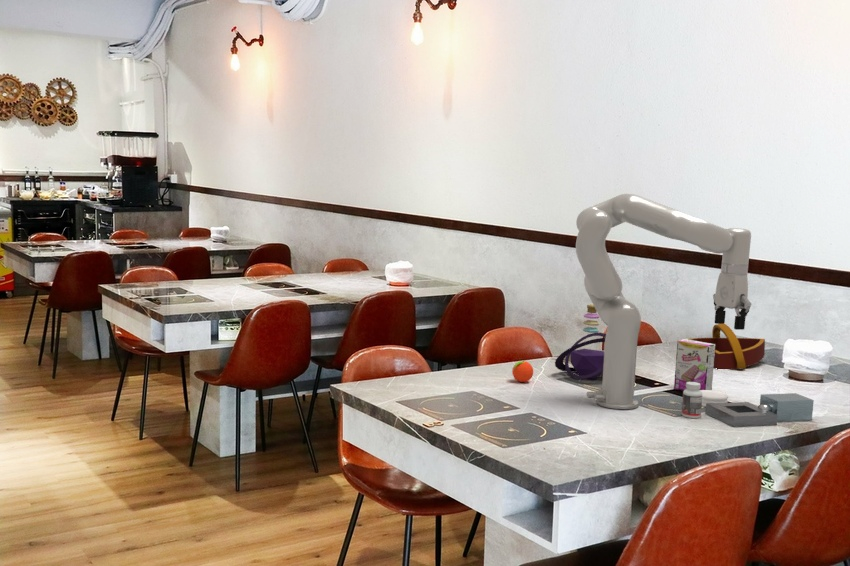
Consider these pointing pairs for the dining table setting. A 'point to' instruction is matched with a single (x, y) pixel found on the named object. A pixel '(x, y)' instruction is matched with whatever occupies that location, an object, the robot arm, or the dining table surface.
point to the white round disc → (713, 397)
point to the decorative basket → (734, 349)
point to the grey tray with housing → (763, 410)
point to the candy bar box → (694, 364)
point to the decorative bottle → (584, 352)
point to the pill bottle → (692, 400)
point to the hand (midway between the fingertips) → (729, 326)
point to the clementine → (522, 371)
